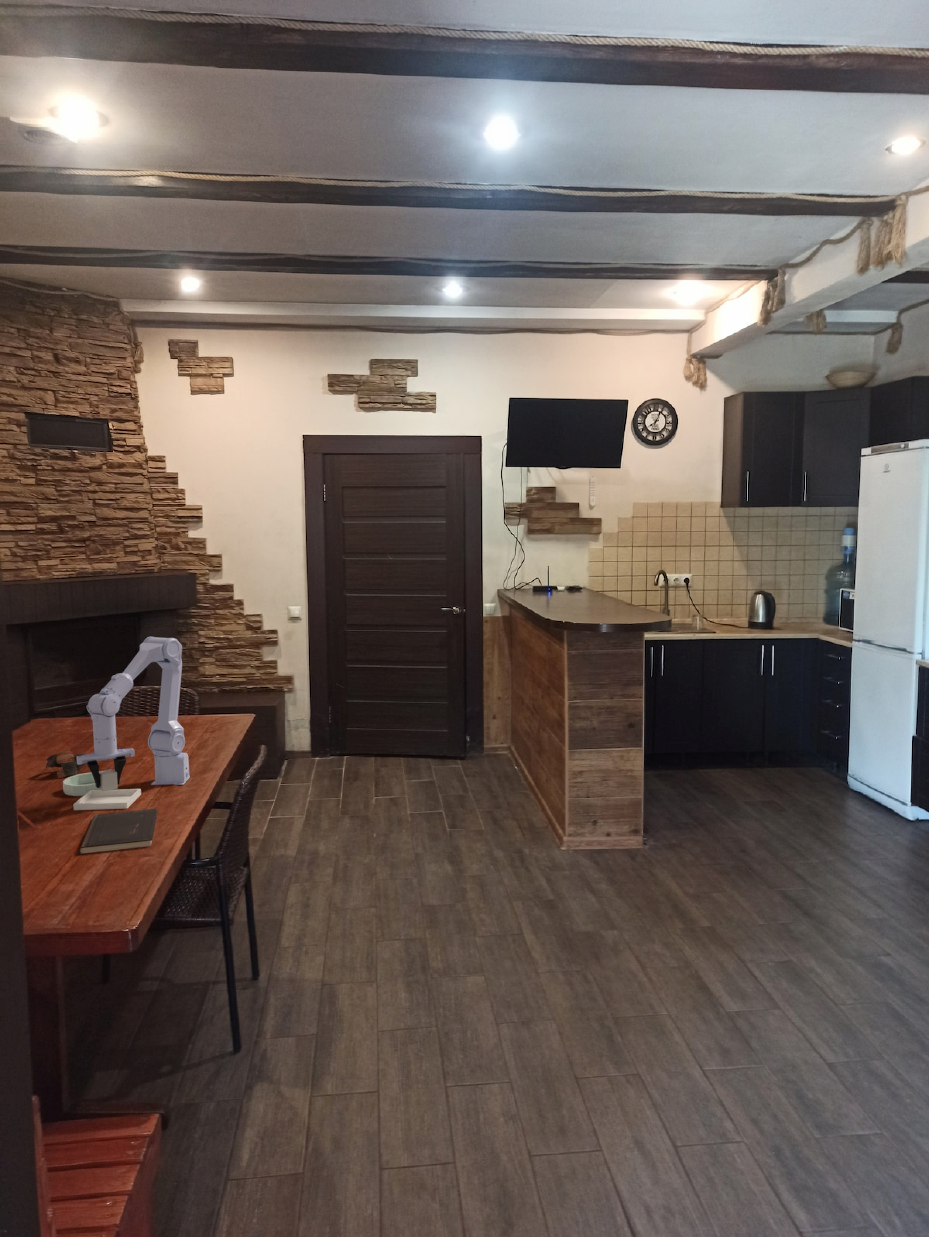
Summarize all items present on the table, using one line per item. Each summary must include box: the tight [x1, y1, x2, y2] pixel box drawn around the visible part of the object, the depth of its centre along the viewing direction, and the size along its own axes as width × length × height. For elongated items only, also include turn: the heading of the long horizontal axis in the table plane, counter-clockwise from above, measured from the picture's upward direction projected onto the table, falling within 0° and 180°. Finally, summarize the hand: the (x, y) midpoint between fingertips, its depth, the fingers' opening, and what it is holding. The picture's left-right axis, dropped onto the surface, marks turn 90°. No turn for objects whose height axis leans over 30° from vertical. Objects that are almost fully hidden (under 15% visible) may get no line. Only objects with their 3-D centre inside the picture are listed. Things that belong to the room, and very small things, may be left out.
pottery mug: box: [45, 750, 87, 779], centre depth 254 cm, size 12×10×8 cm
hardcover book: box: [78, 808, 159, 855], centre depth 203 cm, size 16×23×2 cm
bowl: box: [62, 772, 100, 797], centre depth 237 cm, size 13×13×4 cm
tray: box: [73, 788, 142, 811], centre depth 225 cm, size 14×12×2 cm
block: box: [98, 768, 119, 791], centre depth 224 cm, size 4×4×5 cm
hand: (107, 785), depth 224 cm, fingers closed on block, 4 cm apart
